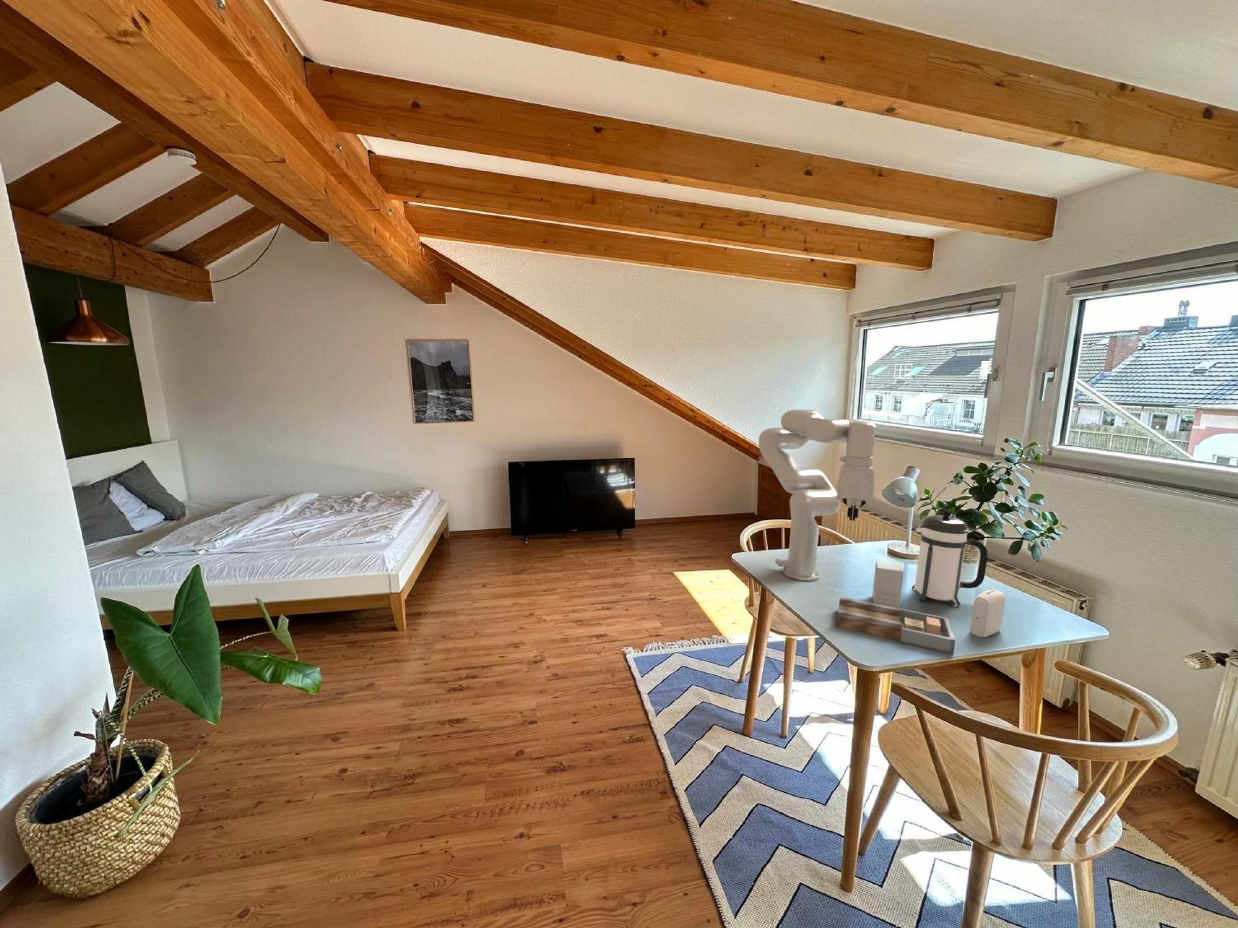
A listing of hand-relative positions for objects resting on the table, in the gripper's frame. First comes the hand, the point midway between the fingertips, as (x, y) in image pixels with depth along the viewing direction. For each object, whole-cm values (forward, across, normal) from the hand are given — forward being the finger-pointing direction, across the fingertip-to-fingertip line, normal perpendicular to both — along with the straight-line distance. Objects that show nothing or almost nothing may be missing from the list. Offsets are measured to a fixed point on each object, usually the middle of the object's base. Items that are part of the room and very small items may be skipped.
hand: (852, 519), depth 153 cm
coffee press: (+27, +28, +18) cm, 43 cm away
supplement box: (+27, +12, +5) cm, 30 cm away
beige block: (+26, +18, -14) cm, 35 cm away
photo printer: (+27, +37, -2) cm, 46 cm away
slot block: (+27, +7, -14) cm, 31 cm away
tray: (+27, +21, -14) cm, 37 cm away
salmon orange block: (+24, +21, -14) cm, 35 cm away
